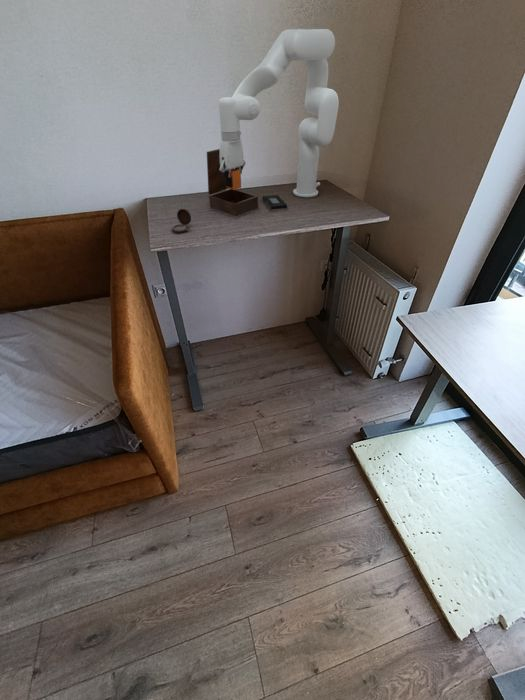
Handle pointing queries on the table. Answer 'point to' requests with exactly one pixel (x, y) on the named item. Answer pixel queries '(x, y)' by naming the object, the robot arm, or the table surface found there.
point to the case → (233, 202)
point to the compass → (182, 221)
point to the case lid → (215, 173)
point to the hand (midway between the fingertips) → (233, 184)
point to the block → (235, 179)
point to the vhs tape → (274, 202)
